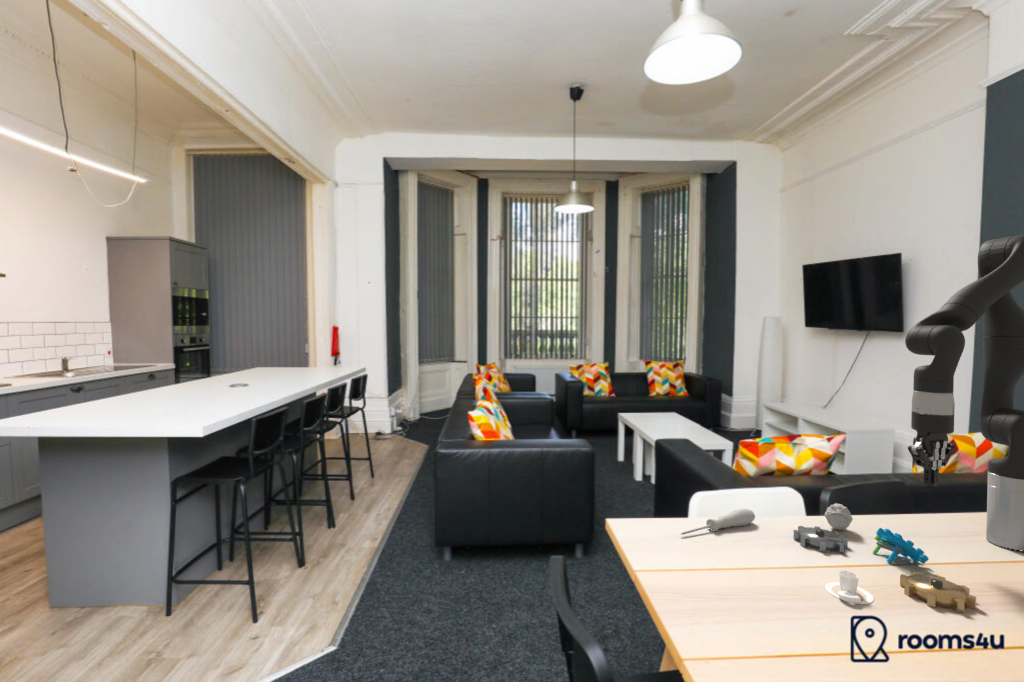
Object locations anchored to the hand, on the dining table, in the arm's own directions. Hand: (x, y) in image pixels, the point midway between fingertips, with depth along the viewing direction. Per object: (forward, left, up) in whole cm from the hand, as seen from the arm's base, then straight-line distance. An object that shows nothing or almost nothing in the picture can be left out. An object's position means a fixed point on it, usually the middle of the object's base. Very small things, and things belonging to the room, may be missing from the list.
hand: (930, 484), depth 112 cm
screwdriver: (+37, -27, -17) cm, 49 cm away
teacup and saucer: (+37, +5, -17) cm, 41 cm away
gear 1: (+19, -12, -16) cm, 28 cm away
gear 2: (+10, 0, -17) cm, 20 cm away
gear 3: (+19, +13, -16) cm, 28 cm away
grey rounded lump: (+7, -17, -17) cm, 25 cm away
